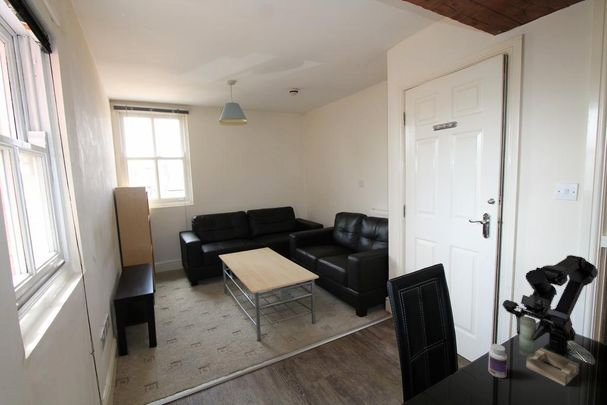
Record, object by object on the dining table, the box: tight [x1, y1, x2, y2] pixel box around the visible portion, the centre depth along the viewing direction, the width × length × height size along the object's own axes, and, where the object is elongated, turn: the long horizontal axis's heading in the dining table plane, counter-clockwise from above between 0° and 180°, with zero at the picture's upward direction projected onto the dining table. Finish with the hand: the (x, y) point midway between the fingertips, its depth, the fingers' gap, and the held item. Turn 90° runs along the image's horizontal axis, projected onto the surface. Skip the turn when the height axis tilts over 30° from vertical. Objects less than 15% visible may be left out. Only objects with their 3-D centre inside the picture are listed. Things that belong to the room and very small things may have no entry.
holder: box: [525, 347, 580, 387], centre depth 104 cm, size 11×11×4 cm
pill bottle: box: [487, 343, 508, 379], centre depth 104 cm, size 5×5×10 cm
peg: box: [518, 315, 537, 358], centre depth 103 cm, size 4×4×12 cm
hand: (525, 336), depth 102 cm, fingers closed on peg, 4 cm apart
